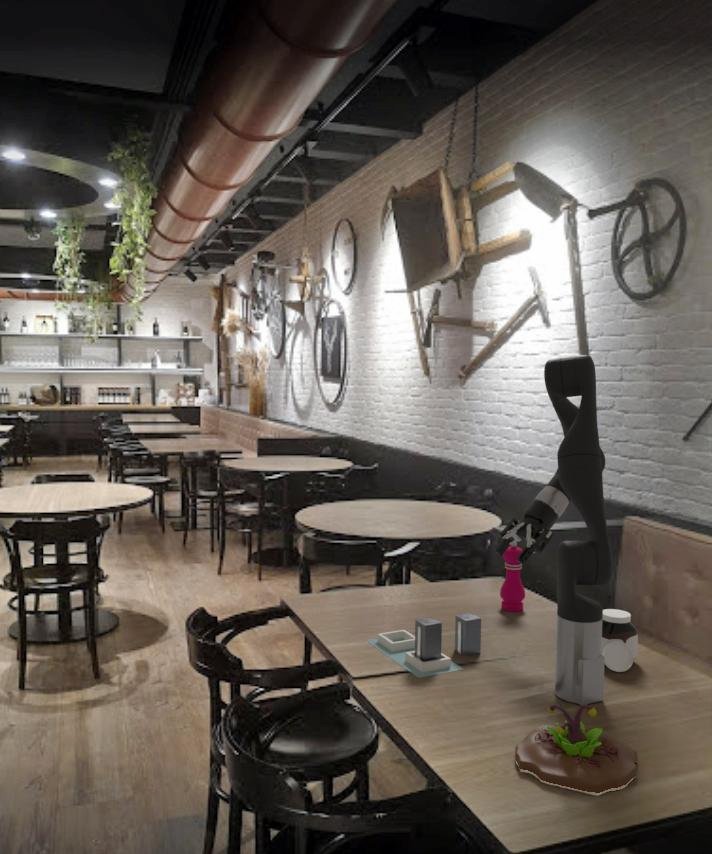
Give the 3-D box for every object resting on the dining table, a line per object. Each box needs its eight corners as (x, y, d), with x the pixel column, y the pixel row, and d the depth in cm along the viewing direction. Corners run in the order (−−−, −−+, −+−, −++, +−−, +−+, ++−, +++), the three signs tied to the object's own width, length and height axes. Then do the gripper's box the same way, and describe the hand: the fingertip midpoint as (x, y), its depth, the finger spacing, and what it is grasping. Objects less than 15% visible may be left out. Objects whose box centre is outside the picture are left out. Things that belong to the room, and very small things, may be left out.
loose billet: (480, 659, 182) (481, 618, 181) (464, 662, 180) (464, 620, 179) (469, 653, 186) (470, 613, 185) (453, 656, 184) (454, 615, 183)
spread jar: (619, 652, 187) (620, 606, 186) (653, 669, 177) (655, 620, 176) (580, 659, 182) (581, 611, 182) (612, 676, 172) (614, 626, 171)
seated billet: (441, 665, 173) (441, 623, 173) (423, 669, 171) (424, 625, 171) (430, 659, 177) (431, 617, 177) (413, 662, 175) (414, 620, 175)
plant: (613, 810, 119) (615, 741, 118) (499, 770, 131) (501, 707, 130) (650, 760, 135) (652, 699, 134) (546, 728, 147) (548, 672, 146)
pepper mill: (523, 605, 225) (525, 538, 224) (526, 612, 218) (528, 544, 216) (498, 604, 226) (500, 538, 224) (500, 611, 218) (502, 543, 217)
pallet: (464, 675, 172) (464, 660, 171) (418, 684, 166) (418, 668, 166) (407, 639, 195) (407, 625, 195) (365, 646, 190) (365, 632, 189)
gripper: (520, 494, 195) (482, 541, 191) (558, 503, 183) (518, 554, 178) (536, 512, 198) (499, 560, 194) (574, 523, 185) (535, 574, 181)
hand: (508, 557), depth 186 cm, fingers open, 8 cm apart
